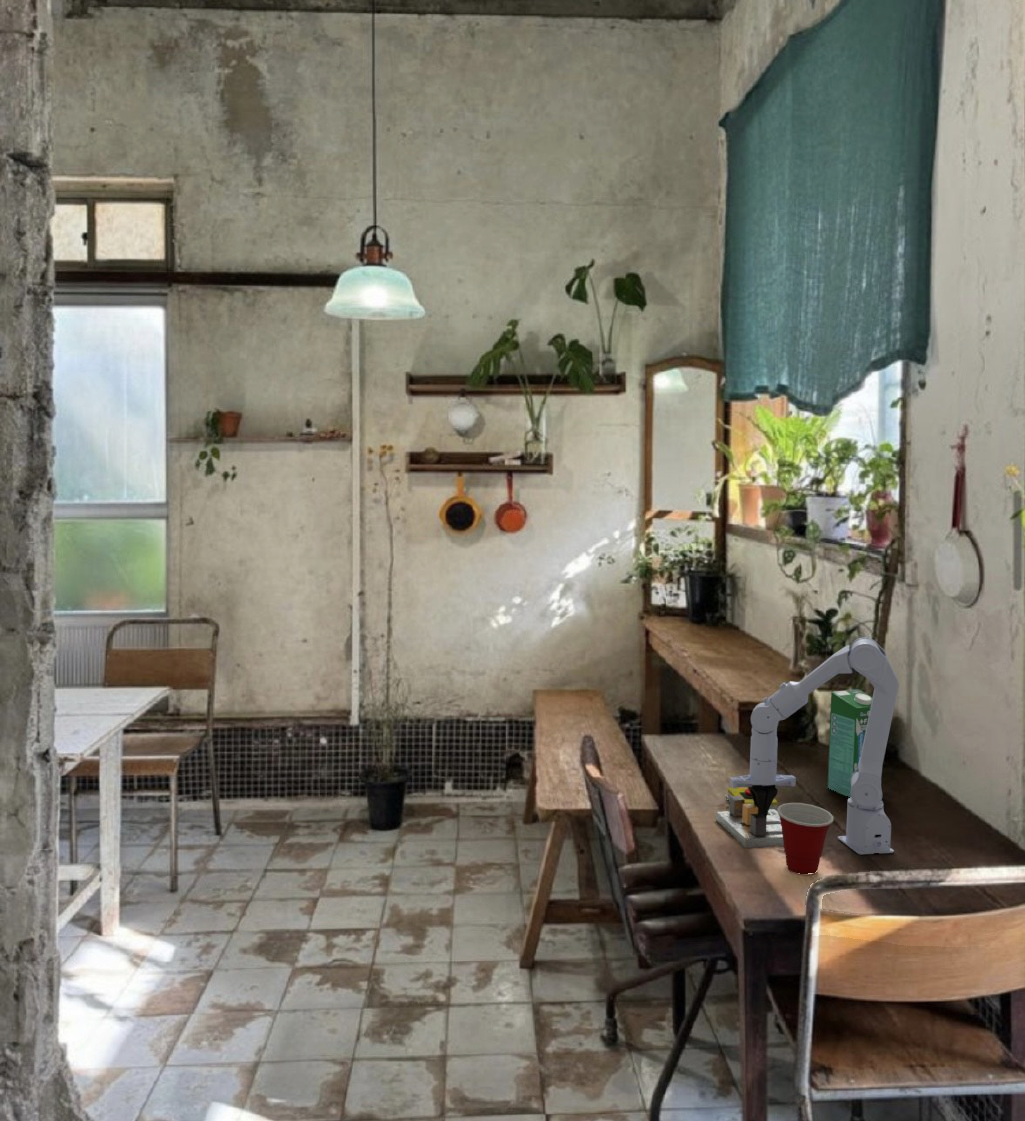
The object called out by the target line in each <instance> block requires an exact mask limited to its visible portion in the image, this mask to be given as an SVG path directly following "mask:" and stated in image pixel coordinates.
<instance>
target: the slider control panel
mask: <svg viewBox="0 0 1025 1121" xmlns="http://www.w3.org/2000/svg"><path fill="white" fill-rule="evenodd" d="M743 804H745V800H744V799H743V798H742V797H741V796H730V802H729V809H728V810H727V811H726V810H724V811H716V822H717V823H719V825H720V826H722V827H723V828H724V829H725V830H726V831H727V830H728V831H729V832H730V833H731V834H730V833H729V832H728V831H727V832H728V833H729V834H730V835H733V836H734V837H735V838H736V839H737V840H738V841H737V840H736V839H735V838H734V837H733V836H732V837H733V838H734V839H735V840H736V841H737V842H738V843H740V844H741V845H742V846H743V847H744V848H745V849H757V848H773V847H774V848H775V846H778V847H784V843H783V834H782V826H781V821H780V816H779V814H778V812H777V811H776V810H775V809H769V811H768V814H767V818H766V817H765V816H764V815H762V814H751V821H750V825H747V824H745V823H744V822H743V821H742V811H743Z"/></svg>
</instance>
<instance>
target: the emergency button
mask: <svg viewBox="0 0 1025 1121" xmlns="http://www.w3.org/2000/svg"><path fill="white" fill-rule="evenodd" d="M725 796H727V799H728V800H729V801H728V800H727V799H726V800H727V801H728V802H729V803H730V796H741V797H742V798H743V799H744V800H745V804H754V801H753V798H752V795H751V793H750V791H749V789H748V787H737V789H733V788H732V787H728V788H727V794H725V795H724V797H725ZM754 805H755V804H754ZM769 809H775V810H776V811H777V810H778V800H776V798H774V800H773V801H772V803H771V805H770V808H769ZM777 812H778V811H777Z"/></svg>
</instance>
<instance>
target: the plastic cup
mask: <svg viewBox="0 0 1025 1121" xmlns="http://www.w3.org/2000/svg"><path fill="white" fill-rule="evenodd" d="M777 811H778V814H779V816H780V821H781V826H782V834H783V843H784V846H783V849H784V850H783V851H784V853H785V860H786V861H785V862H786V866H787V869H788V870H789V871H790V872H791V871H792V873H793V872H794V873H793V874H796V873H800V874H799V875H801V874H808V873H815V872H816V871H818V870H819V866H820V861H821V857H822V853H823V849H824V845H825V840H826V836H827V833H828V831H829V828H830V825H832V823H833V822H834V815H833V814H831V812H829V811H828V810H826V809H824V808H822V807H820V806H816V805H813V804H808V803H803V802H789V803H788V802H787V803H782V804H781V805H779V806H777ZM816 873H817V872H816ZM816 873H815V874H816Z"/></svg>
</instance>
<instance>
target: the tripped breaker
mask: <svg viewBox="0 0 1025 1121" xmlns="http://www.w3.org/2000/svg"><path fill="white" fill-rule="evenodd" d="M751 814H758V807H757V806H755V805H754V804H743V811H742V821H743V822H744V823H745V824H747V825H750V821H751Z"/></svg>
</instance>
